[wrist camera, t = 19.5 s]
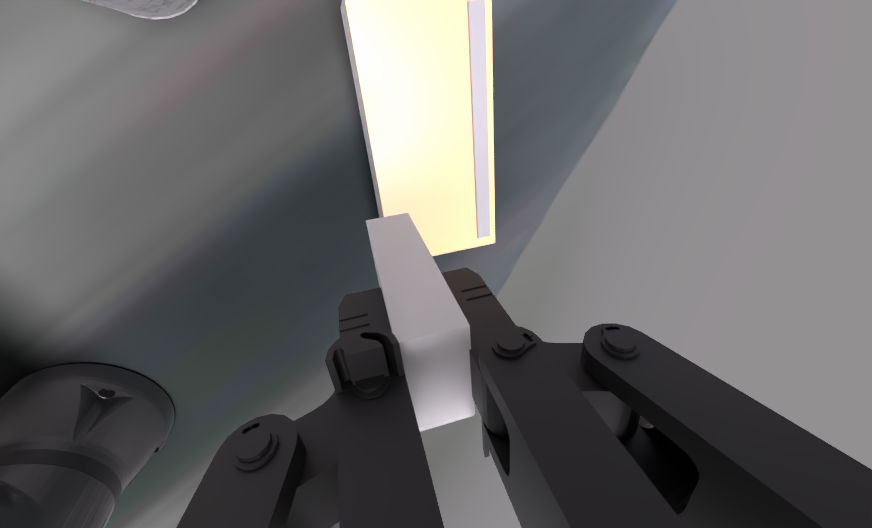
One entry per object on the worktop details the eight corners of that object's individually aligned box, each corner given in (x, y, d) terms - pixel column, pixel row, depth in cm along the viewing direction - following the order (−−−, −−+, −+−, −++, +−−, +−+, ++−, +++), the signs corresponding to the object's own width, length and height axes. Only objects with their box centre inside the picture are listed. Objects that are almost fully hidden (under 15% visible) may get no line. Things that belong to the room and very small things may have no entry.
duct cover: (391, 260, 33) (392, 265, 33) (343, -6, 24) (343, -9, 23) (491, 239, 35) (496, 244, 34) (486, -17, 25) (492, -20, 24)
